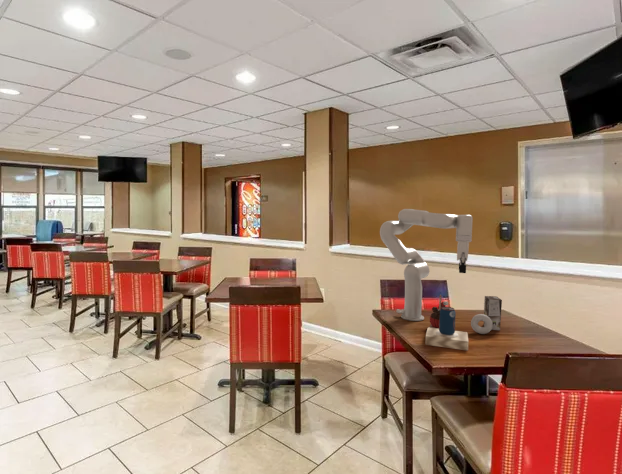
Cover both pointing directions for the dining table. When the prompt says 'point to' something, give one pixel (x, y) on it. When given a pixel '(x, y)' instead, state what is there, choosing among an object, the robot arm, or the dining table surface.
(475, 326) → the donut
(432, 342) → the block
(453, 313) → the soda can
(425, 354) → the dining table surface
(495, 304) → the coffee box
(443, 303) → the cake
